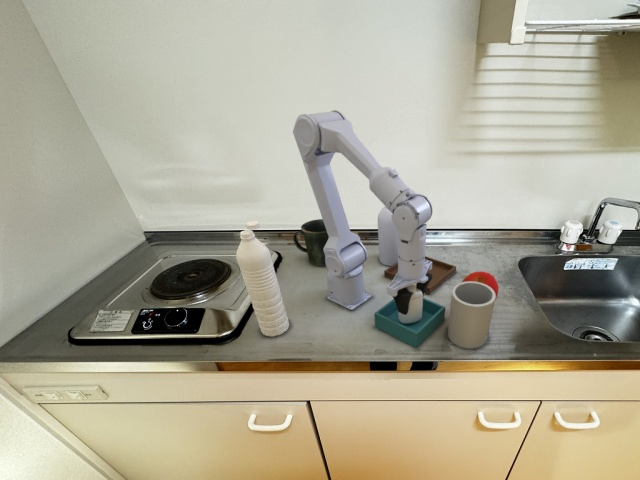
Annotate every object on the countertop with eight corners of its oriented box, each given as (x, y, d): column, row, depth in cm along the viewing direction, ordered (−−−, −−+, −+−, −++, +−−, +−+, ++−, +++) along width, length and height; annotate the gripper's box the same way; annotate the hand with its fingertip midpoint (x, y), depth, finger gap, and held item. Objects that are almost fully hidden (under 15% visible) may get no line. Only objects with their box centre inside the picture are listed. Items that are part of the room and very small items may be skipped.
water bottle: (286, 336, 74) (258, 237, 60) (258, 338, 74) (222, 239, 59) (293, 313, 81) (269, 220, 67) (267, 314, 81) (237, 221, 66)
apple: (488, 289, 85) (491, 258, 76) (501, 315, 79) (507, 285, 70) (455, 298, 85) (454, 268, 76) (466, 325, 80) (466, 296, 70)
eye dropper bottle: (420, 325, 75) (422, 283, 68) (397, 323, 75) (397, 281, 68) (422, 314, 78) (424, 273, 71) (400, 312, 79) (400, 271, 72)
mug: (339, 268, 100) (334, 232, 93) (293, 267, 100) (285, 232, 93) (344, 252, 109) (340, 219, 102) (302, 252, 109) (295, 218, 102)
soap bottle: (379, 253, 108) (376, 181, 94) (406, 254, 107) (407, 182, 93) (374, 265, 101) (370, 190, 87) (403, 267, 100) (403, 191, 86)
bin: (375, 327, 77) (374, 313, 74) (404, 303, 85) (404, 290, 82) (416, 348, 71) (417, 333, 68) (444, 320, 79) (445, 306, 76)
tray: (384, 276, 96) (384, 270, 94) (413, 257, 106) (413, 252, 104) (429, 294, 88) (429, 288, 87) (455, 272, 98) (456, 266, 96)
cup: (447, 320, 78) (451, 280, 71) (484, 322, 77) (492, 282, 70) (448, 347, 71) (452, 305, 64) (489, 349, 70) (498, 307, 63)
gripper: (406, 275, 60) (405, 329, 68) (445, 248, 69) (440, 298, 77) (378, 264, 63) (380, 317, 71) (418, 239, 73) (416, 288, 81)
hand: (410, 306), depth 75 cm, fingers closed on eye dropper bottle, 5 cm apart
